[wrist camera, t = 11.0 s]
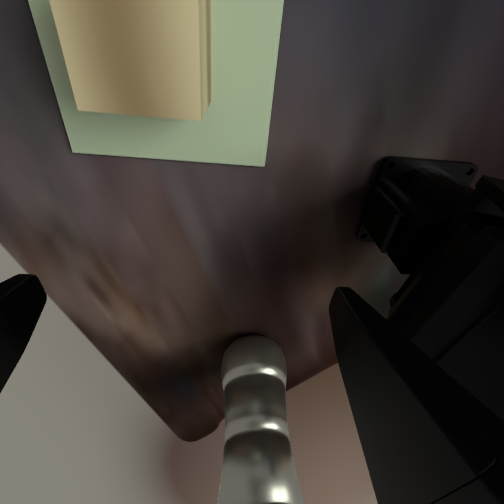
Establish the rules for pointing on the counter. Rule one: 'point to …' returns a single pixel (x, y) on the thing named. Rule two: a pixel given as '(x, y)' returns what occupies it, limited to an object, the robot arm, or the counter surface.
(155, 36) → the beech block
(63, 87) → the sage mat
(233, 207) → the counter surface
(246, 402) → the silver ribbed metal bottle
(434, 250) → the robot arm
